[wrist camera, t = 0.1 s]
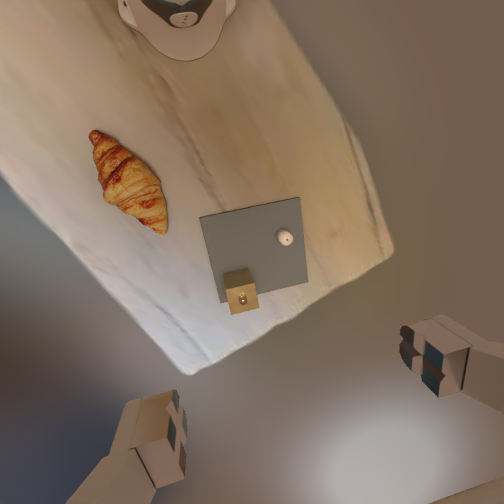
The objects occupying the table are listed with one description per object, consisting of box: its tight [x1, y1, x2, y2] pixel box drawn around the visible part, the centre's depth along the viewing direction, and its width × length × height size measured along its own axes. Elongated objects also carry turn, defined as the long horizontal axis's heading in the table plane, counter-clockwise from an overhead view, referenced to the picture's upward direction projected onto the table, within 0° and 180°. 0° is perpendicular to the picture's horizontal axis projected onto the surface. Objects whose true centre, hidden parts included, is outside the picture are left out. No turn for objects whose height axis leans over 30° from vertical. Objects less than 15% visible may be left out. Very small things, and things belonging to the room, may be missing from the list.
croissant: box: [89, 130, 168, 235], centre depth 48 cm, size 21×10×8 cm, turn 28°
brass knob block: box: [223, 268, 259, 315], centre depth 56 cm, size 6×6×9 cm
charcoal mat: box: [200, 197, 308, 303], centre depth 59 cm, size 21×22×1 cm
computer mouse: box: [276, 229, 293, 246], centre depth 56 cm, size 3×3×4 cm
